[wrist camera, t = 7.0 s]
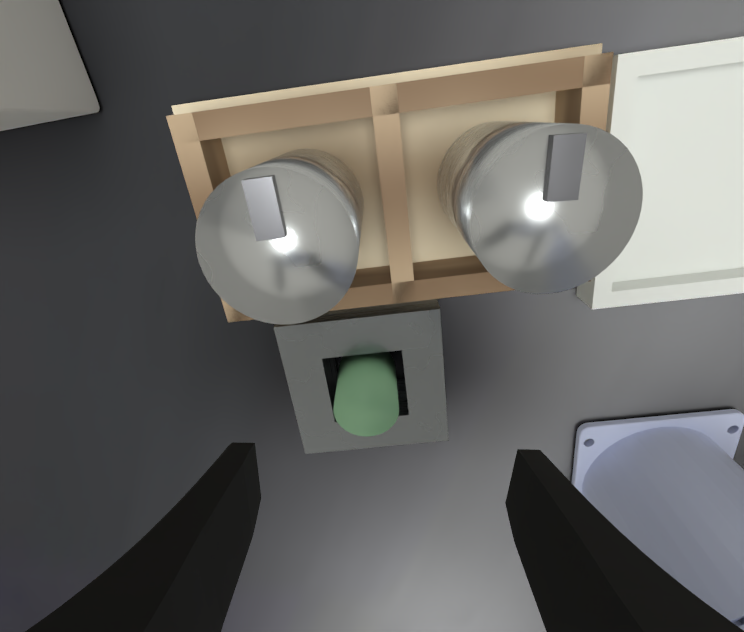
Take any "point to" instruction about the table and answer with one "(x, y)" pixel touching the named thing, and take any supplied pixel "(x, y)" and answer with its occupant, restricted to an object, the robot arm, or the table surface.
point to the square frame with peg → (364, 336)
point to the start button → (366, 394)
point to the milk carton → (40, 66)
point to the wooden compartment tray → (393, 153)
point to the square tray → (679, 174)
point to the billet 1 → (283, 236)
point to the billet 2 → (541, 201)
